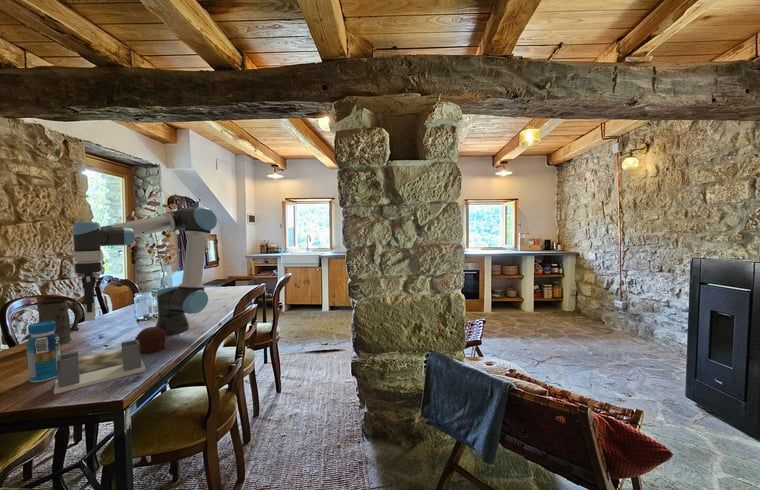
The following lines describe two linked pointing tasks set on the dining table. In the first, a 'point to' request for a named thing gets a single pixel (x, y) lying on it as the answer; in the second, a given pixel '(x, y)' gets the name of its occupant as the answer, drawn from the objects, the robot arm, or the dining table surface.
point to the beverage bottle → (42, 351)
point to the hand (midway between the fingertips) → (90, 317)
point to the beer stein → (60, 317)
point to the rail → (100, 361)
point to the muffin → (151, 340)
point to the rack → (73, 379)
